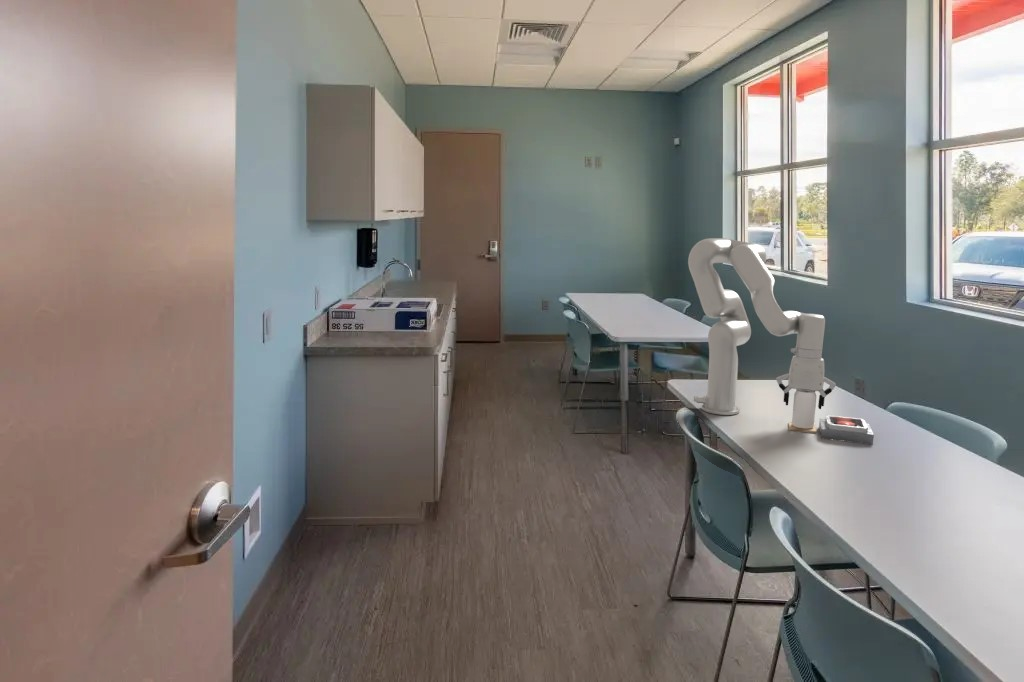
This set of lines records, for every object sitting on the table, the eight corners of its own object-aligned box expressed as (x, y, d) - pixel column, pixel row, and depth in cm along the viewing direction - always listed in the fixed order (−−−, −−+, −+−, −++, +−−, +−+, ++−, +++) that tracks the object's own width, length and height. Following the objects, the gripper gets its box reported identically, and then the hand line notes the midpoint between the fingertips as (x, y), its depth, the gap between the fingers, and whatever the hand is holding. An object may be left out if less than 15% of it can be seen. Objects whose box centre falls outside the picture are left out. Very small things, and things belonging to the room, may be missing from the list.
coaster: (788, 430, 210) (789, 428, 210) (788, 423, 217) (788, 421, 217) (816, 433, 207) (816, 431, 207) (815, 426, 214) (815, 424, 214)
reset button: (837, 433, 203) (838, 424, 203) (835, 429, 208) (836, 420, 207) (854, 435, 202) (855, 426, 201) (853, 431, 206) (854, 422, 206)
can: (809, 423, 215) (812, 387, 213) (816, 429, 208) (820, 392, 206) (788, 423, 215) (791, 387, 213) (795, 429, 209) (798, 392, 207)
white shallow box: (821, 438, 202) (822, 424, 201) (818, 427, 213) (820, 414, 212) (872, 444, 197) (874, 429, 196) (868, 432, 208) (869, 419, 207)
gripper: (778, 353, 208) (773, 405, 211) (840, 358, 201) (833, 412, 204) (778, 348, 214) (774, 400, 218) (838, 353, 208) (832, 406, 211)
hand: (803, 406), depth 211 cm, fingers open, 9 cm apart
